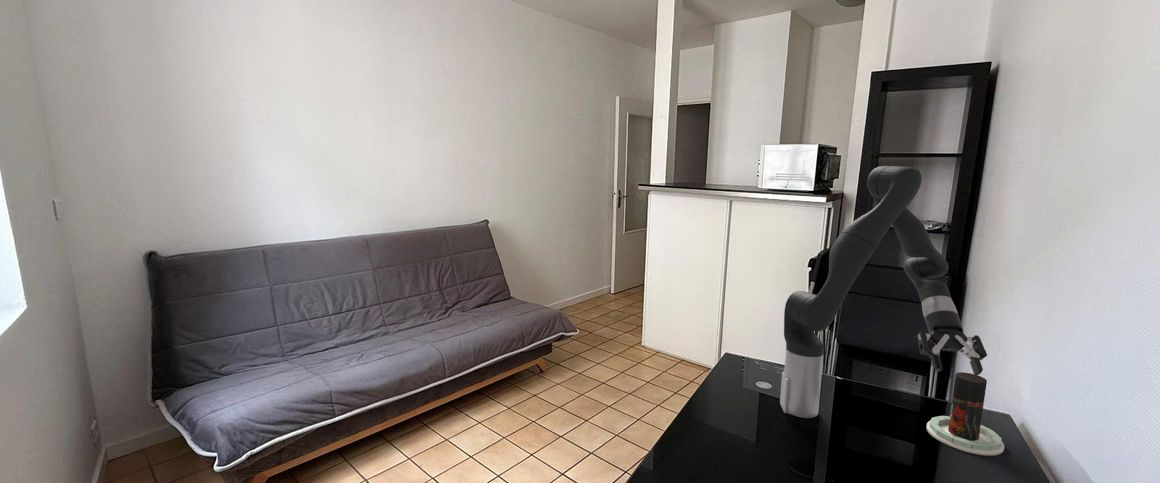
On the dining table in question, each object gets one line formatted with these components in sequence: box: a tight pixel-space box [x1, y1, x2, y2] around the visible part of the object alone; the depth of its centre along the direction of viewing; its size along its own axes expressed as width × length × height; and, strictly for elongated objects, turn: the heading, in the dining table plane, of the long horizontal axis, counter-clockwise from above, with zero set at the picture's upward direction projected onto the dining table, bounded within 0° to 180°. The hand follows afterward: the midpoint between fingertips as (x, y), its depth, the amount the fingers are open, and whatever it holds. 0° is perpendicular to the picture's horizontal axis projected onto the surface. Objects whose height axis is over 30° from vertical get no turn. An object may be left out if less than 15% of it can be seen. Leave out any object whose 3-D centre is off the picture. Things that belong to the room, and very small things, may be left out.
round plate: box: [926, 415, 1005, 457], centre depth 116 cm, size 15×15×2 cm
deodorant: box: [948, 371, 988, 441], centre depth 115 cm, size 6×6×15 cm
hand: (958, 372), depth 119 cm, fingers open, 8 cm apart
